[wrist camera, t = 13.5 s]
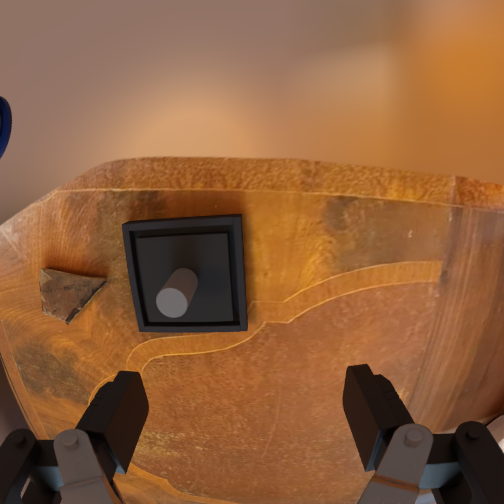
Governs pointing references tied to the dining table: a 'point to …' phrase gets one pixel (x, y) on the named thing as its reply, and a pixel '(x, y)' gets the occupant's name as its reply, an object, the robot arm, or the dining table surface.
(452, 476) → the robot arm
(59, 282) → the shard
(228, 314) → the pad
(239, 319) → the base pad
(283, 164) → the dining table surface
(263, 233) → the dining table surface
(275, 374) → the dining table surface
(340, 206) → the dining table surface
